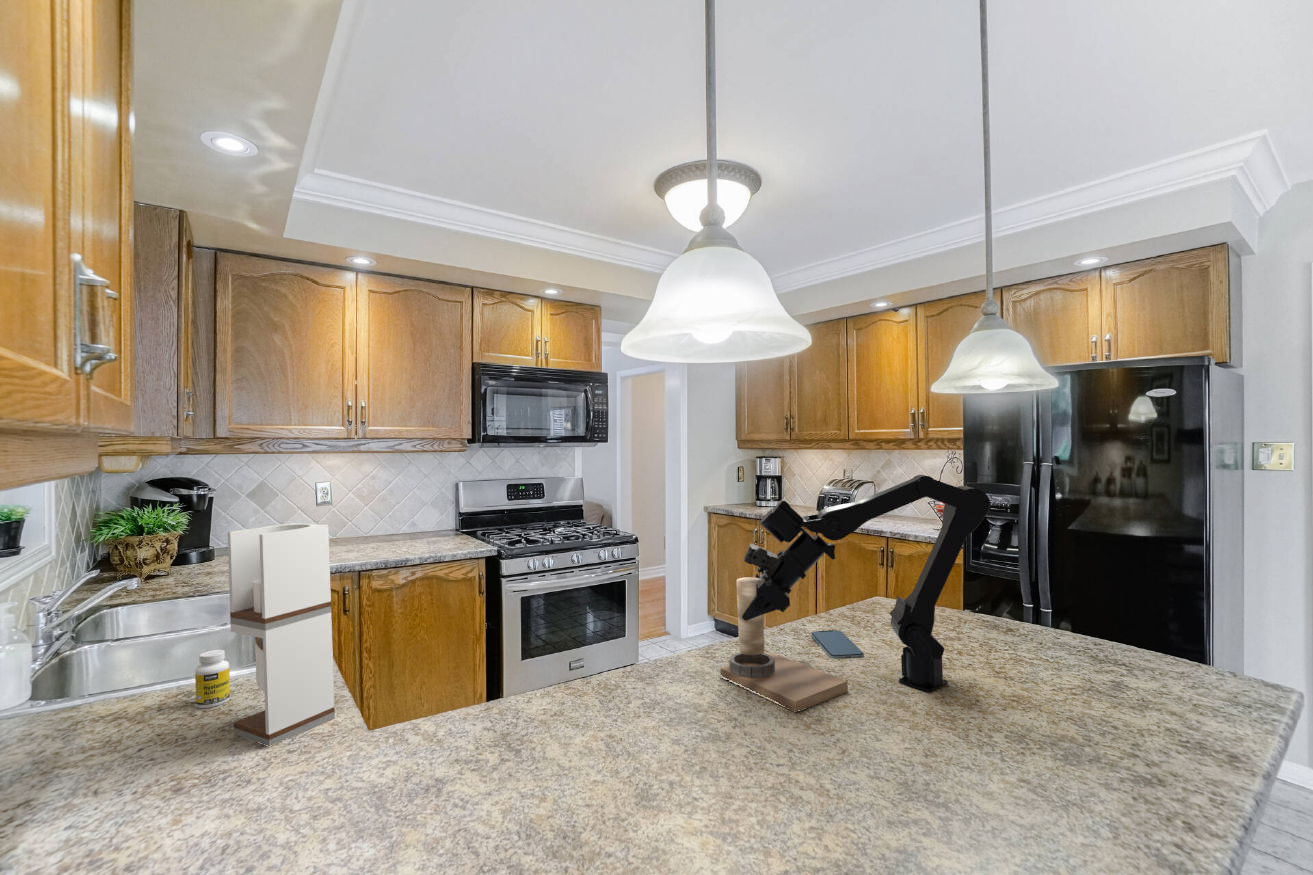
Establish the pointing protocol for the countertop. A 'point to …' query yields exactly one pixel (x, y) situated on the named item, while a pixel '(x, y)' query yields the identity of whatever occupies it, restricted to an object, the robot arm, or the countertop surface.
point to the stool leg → (753, 628)
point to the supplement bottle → (212, 679)
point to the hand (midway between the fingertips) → (743, 614)
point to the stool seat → (783, 680)
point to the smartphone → (836, 644)
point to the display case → (284, 625)
